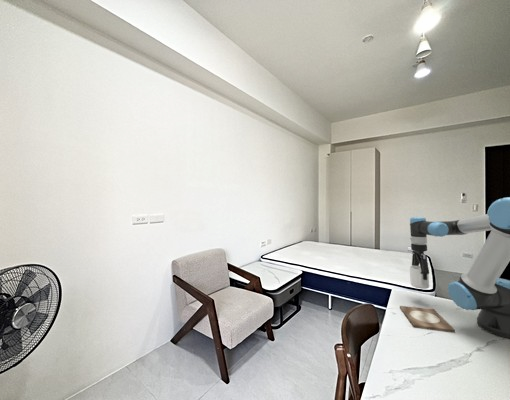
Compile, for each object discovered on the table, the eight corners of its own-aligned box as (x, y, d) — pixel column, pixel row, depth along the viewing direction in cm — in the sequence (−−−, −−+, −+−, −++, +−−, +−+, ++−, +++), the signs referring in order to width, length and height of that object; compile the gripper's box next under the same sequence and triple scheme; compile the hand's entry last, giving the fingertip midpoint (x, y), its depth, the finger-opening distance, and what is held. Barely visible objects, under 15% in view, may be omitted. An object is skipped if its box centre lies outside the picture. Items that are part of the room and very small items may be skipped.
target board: (434, 311, 118) (434, 309, 118) (455, 332, 99) (455, 329, 99) (399, 307, 123) (399, 305, 123) (413, 327, 104) (413, 324, 104)
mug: (432, 284, 129) (431, 266, 130) (427, 290, 121) (426, 270, 122) (414, 281, 136) (413, 263, 136) (408, 286, 128) (407, 267, 128)
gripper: (404, 240, 141) (406, 275, 140) (419, 246, 119) (421, 288, 118) (418, 240, 138) (420, 276, 138) (435, 247, 117) (437, 289, 116)
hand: (420, 281), depth 128 cm, fingers closed on mug, 10 cm apart
